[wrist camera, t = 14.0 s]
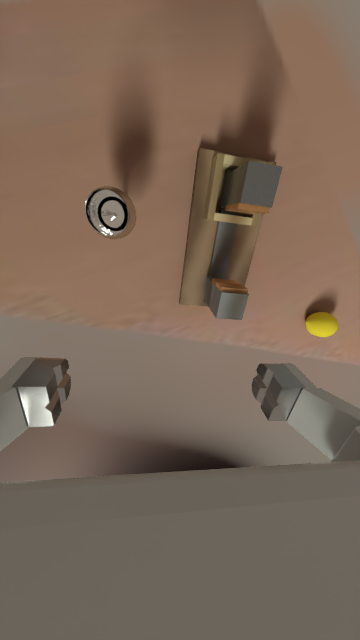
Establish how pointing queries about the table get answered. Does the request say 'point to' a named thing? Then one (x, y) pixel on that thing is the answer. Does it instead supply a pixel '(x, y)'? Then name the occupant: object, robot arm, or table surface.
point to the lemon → (321, 324)
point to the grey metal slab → (250, 188)
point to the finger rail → (217, 241)
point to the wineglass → (110, 212)
